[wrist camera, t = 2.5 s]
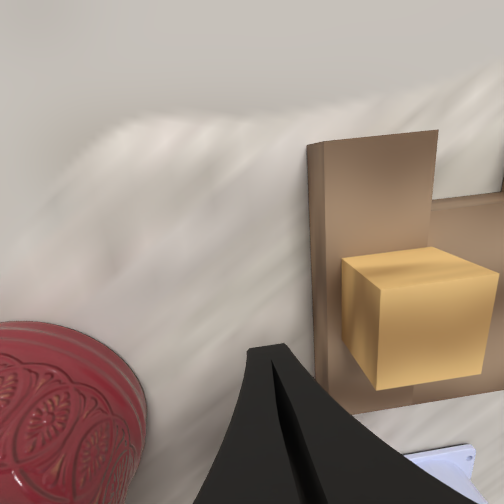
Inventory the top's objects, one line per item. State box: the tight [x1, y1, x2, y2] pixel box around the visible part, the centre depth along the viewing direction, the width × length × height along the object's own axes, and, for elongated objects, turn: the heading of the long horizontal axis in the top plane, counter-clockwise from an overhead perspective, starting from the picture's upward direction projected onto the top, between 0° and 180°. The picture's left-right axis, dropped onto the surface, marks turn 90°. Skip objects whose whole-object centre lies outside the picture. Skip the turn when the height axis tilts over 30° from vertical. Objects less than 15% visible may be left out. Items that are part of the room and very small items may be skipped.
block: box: [342, 247, 500, 391], centre depth 12 cm, size 4×4×4 cm
